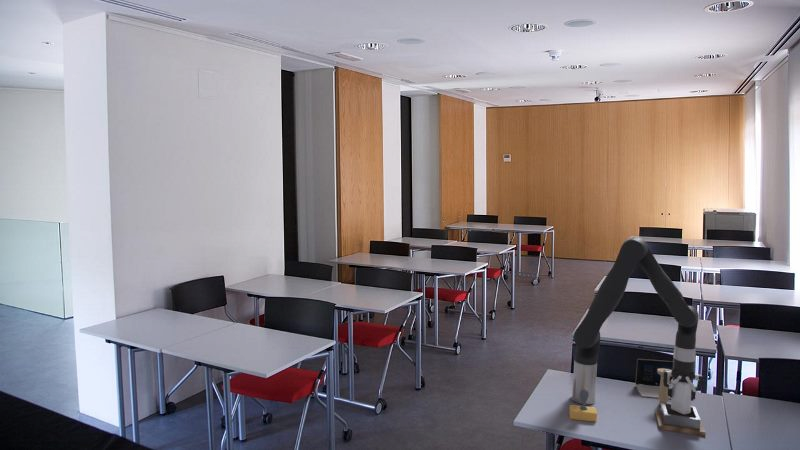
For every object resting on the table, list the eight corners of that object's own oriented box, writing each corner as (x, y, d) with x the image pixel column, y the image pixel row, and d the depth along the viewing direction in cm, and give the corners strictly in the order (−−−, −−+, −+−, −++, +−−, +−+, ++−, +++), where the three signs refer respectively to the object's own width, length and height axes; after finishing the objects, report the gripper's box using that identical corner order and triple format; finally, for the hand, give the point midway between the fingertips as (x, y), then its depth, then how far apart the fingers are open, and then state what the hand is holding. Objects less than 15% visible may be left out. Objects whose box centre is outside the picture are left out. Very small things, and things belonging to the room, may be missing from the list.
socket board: (659, 429, 222) (660, 415, 221) (655, 412, 236) (656, 399, 235) (705, 436, 217) (706, 422, 216) (698, 418, 231) (699, 405, 230)
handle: (672, 408, 240) (675, 373, 239) (655, 406, 242) (658, 371, 240) (670, 403, 245) (673, 369, 243) (654, 401, 247) (656, 367, 245)
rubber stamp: (594, 415, 233) (596, 387, 231) (596, 422, 227) (598, 393, 226) (569, 413, 235) (570, 384, 233) (570, 419, 229) (571, 390, 228)
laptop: (641, 397, 251) (643, 368, 250) (635, 386, 264) (637, 358, 262) (685, 401, 248) (688, 372, 247) (677, 389, 260) (679, 361, 259)
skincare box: (691, 413, 224) (693, 383, 222) (683, 415, 222) (685, 385, 220) (677, 406, 229) (679, 377, 228) (669, 408, 227) (671, 379, 226)
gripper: (665, 358, 222) (662, 399, 224) (706, 363, 217) (703, 405, 219) (662, 352, 229) (659, 392, 231) (703, 356, 224) (699, 397, 226)
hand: (681, 398), depth 225 cm, fingers closed on skincare box, 7 cm apart
